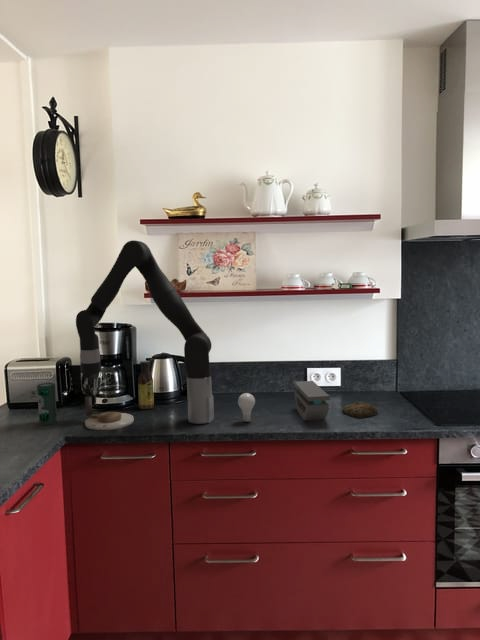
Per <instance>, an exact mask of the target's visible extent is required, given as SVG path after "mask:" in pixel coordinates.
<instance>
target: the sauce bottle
mask: <svg viewBox="0 0 480 640" xmlns="http://www.w3.org/2000/svg"><path fill="white" fill-rule="evenodd" d="M139 364H140V373H139V375H138V377H137V379H138V380H137V381H138V384H137V387H138V392H137V393H138V405H139V406H138V407H139V409H140V410H150V409H153V408H154V406H155V405H154V403H155V398H154V397H155V396H154V392H155V391H154V378H153V376H152V374H151V369H150V368H151V361H150V360H140V362H139Z"/></svg>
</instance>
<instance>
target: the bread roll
mask: <svg viewBox="0 0 480 640" xmlns="http://www.w3.org/2000/svg"><path fill="white" fill-rule="evenodd" d="M341 411H342V412H343V413H344V414H345V415H347V416H350V417H353V418H357V419H366V418H372V417H373V416H377V415H378V410H377V408H376V407H375V406H374V405H372V404H371V403H369V402H364V401H358V402H355V403H351V404H345V405H344V406H343V407H342V409H341Z"/></svg>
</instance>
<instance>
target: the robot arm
mask: <svg viewBox="0 0 480 640" xmlns="http://www.w3.org/2000/svg"><path fill="white" fill-rule="evenodd" d="M135 268H136V269H137V271H138V272H139V273H140V274H141V276H142V277H143V279H144V280H145V283H146V285H147V289H148V292H149V294H150V296H151V298H152V301H153V302H154V304H155V305H156V306H157V308H158V309H159V311H160V312H161V313H162V315H163V316H164V317H165V318H166V319H167V320H168V321H169V322H170V323H171V324H172V325H173V326H175V327H176V328H177V329H178V331H179V332H180V334H181V335H182V337H183V339H184V341H185V342H184V349H183V351H184V352H183V355H184V368H185V372H186V390H187V392H186V393H187V418H188V423H191V424H196V425H198V424H199V425H200V424H201V425H203V424H210V423H212V421H213V420H214V419H215V411H214V410H215V409H214V408H215V405H214V394H213V393H212V369H211V367H210V352H211V349H212V341H211V339H210V336H208V335H207V333H206V332H205V331H204V330H203V329H202V328H201V326H200V325H199V324H198V322H197V321H196V320H195V319H194V317H193V315H192V313H191V311H190V310H189V309H188V307H187V305H186V303H185V302H184V300H183V298H182V297H181V295H180V294H179V293H178V291H177V289H176V288H175V287H174V285H173V284H172V282H171V281H170V279H168V277H167V276H166V274H165V273H164V272H163V271H162V269H161V268H160V266H159V265H158V263H157V260H156V259H155V257H154V255H153V253H152V251H151V249H150V247H149V246H148V245H147V244H146V243H145V242H143V241H140V240H136V239H135V240H132V239H131V240H128V241H127V242H125V244H124V245H123V246H122V247H121V249H120V252H119V253H118V256H117V258H116V260H115V262H114V264H113V265H112V267H111V269H110V271H109V272H108V274H107V276H106V277H105V278H104V280H103V281H102V283H101V284H100V285H99V286H98V288H97V289H96V291H95V292H94V294H93V295H92V297H91V298H90V304H89V305H88V306H87V308H86V309H83V310H81V311H79V312H78V313H77V314H76V316H75V326H76V331H77V334H78V337H79V350H80V351H79V360H80V361H79V362H80V373H81V374H83V375H84V383H81V388H82V390H83V392H84V394H85V395H86V396H91V398H92V406H94V405H96V404H97V394H98V392H99V390H100V384H101V381H102V378H101V377H99V374H100V373H101V372H102V366H101V365H102V362H101V351H100V340H99V336H98V334H96V331H95V327H96V325H98V324H99V322H100V321H101V320H102V318H103V317H104V315H105V313H106V311H107V309H108V308H109V306H110V305H111V304H112V303H113V301H114V300H115V298H116V296H117V295H118V294H119V292H120V290H121V287H122V285H123V283H124V281H125V280H126V277H127V276H128V275H130V272H131V271H132V270H133V269H135Z"/></svg>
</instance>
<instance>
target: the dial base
mask: <svg viewBox="0 0 480 640" xmlns="http://www.w3.org/2000/svg"><path fill="white" fill-rule="evenodd" d="M120 413H121V417H122V418H121V419H120V420H118V421H114V422H99V421H97V419H88V418H86V419H85V421H84V426H85V428H87V429H89V430H93V431H110V430H111V431H112V430H117V429H121V428H126V427H128V426H130V425H132V424H133V423H134V420H135V419H134V416H133V415H132V414H130V413H124V412H120Z"/></svg>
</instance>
